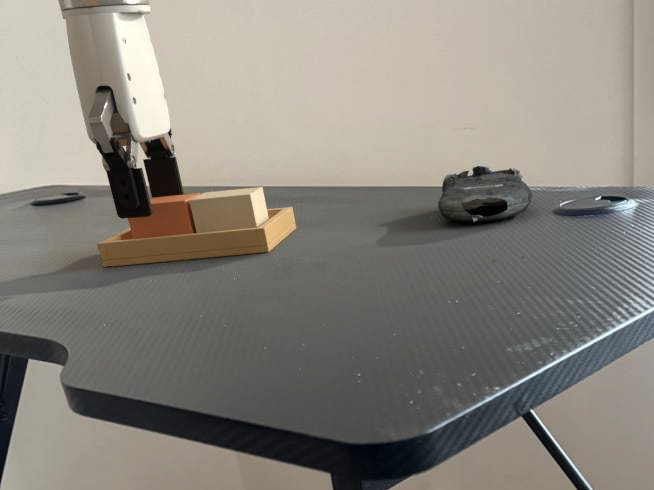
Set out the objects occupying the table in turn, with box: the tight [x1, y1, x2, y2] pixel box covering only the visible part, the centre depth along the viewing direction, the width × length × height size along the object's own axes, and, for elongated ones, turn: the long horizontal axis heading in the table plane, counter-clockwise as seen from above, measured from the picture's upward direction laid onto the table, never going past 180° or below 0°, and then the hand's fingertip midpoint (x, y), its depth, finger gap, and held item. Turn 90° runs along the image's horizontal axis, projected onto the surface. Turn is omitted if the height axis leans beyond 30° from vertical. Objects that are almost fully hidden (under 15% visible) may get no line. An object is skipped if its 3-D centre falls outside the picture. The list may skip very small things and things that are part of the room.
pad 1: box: [127, 192, 201, 239], centre depth 91 cm, size 6×5×4 cm
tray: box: [96, 206, 297, 268], centre depth 92 cm, size 16×13×2 cm
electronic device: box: [437, 165, 533, 224], centre depth 93 cm, size 9×6×15 cm
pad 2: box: [189, 186, 269, 233], centre depth 91 cm, size 6×5×4 cm
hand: (153, 209), depth 90 cm, fingers open, 9 cm apart
